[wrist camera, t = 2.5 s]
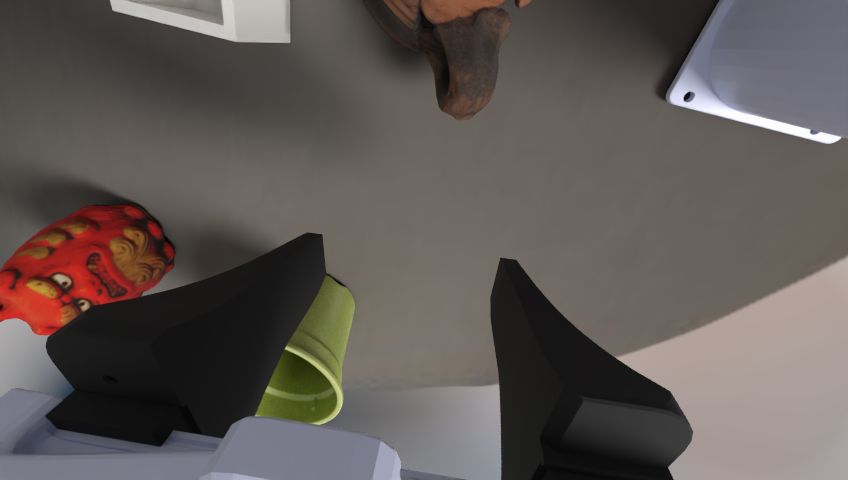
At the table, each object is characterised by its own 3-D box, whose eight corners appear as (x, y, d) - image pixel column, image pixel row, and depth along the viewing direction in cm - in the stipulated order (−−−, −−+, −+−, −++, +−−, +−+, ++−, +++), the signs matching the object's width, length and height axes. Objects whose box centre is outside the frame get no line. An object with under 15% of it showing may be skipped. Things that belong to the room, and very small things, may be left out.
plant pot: (383, 337, 30) (355, 431, 23) (290, 336, 32) (236, 425, 24) (361, 253, 25) (318, 339, 18) (254, 257, 27) (173, 337, 20)
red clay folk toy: (197, 270, 28) (-22, 453, 16) (133, 275, 30) (-118, 448, 17) (146, 190, 25) (-197, 345, 12) (75, 200, 26) (-302, 349, 13)
